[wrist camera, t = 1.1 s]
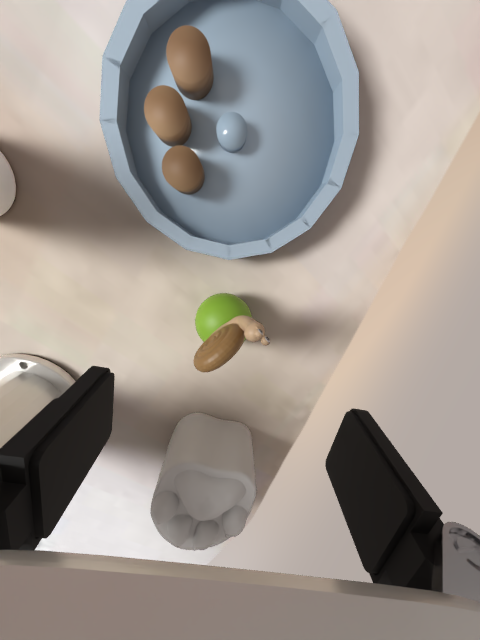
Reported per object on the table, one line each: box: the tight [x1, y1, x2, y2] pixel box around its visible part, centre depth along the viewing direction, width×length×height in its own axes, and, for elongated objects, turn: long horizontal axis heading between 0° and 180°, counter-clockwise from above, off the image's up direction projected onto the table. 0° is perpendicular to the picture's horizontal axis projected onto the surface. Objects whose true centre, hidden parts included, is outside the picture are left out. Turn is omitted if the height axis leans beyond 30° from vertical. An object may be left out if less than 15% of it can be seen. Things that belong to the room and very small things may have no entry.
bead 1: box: [166, 25, 214, 100], centre depth 18 cm, size 3×3×2 cm
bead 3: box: [162, 145, 205, 195], centre depth 20 cm, size 3×3×2 cm
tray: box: [100, 0, 359, 260], centre depth 20 cm, size 19×19×3 cm
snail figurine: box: [194, 293, 270, 372], centre depth 21 cm, size 5×6×12 cm
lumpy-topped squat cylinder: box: [151, 412, 257, 551], centre depth 29 cm, size 10×13×9 cm
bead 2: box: [144, 85, 192, 147], centre depth 19 cm, size 3×3×2 cm
